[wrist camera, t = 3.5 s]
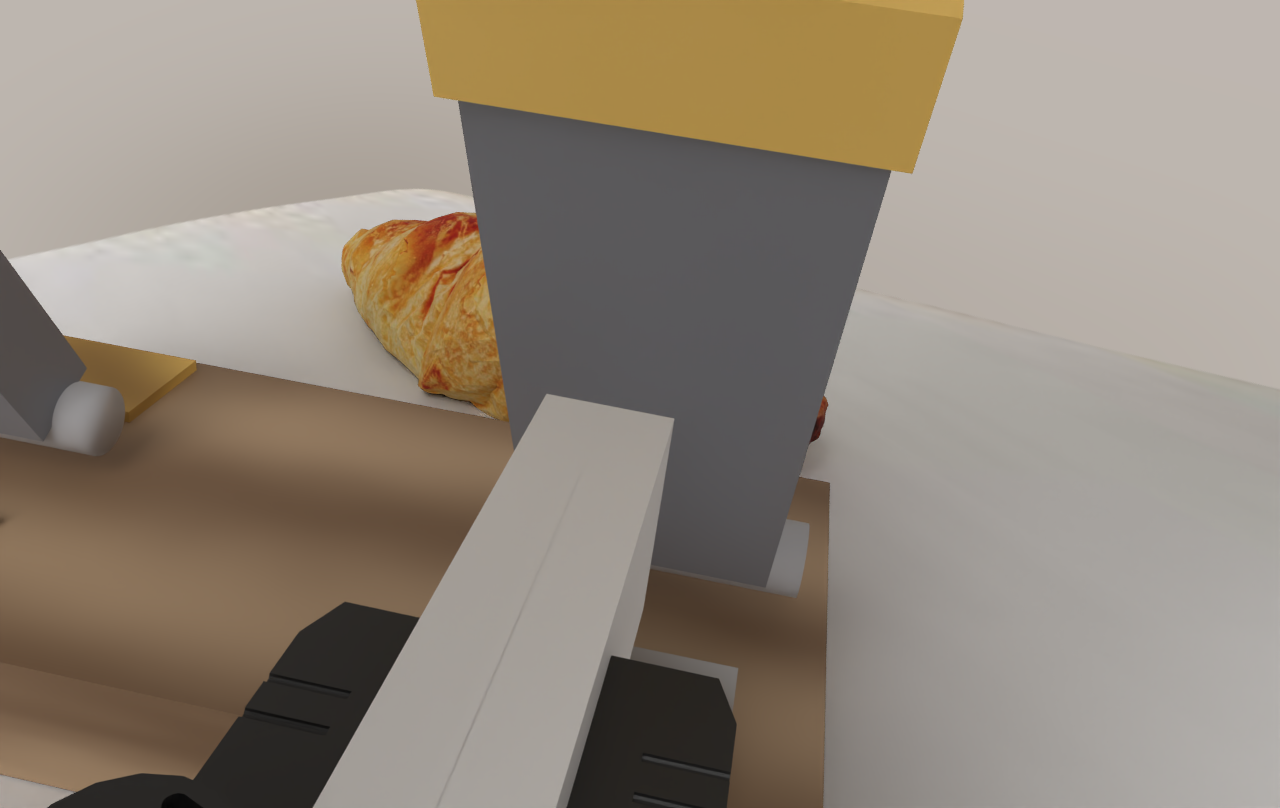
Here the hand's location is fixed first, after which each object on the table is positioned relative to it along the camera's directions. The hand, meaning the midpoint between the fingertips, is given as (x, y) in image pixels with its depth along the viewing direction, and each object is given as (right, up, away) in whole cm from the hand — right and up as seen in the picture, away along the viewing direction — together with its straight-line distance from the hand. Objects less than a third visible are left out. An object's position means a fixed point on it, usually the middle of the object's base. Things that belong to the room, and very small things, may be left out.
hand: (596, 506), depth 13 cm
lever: (+1, -2, +10) cm, 10 cm away
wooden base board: (-8, -4, +13) cm, 16 cm away
